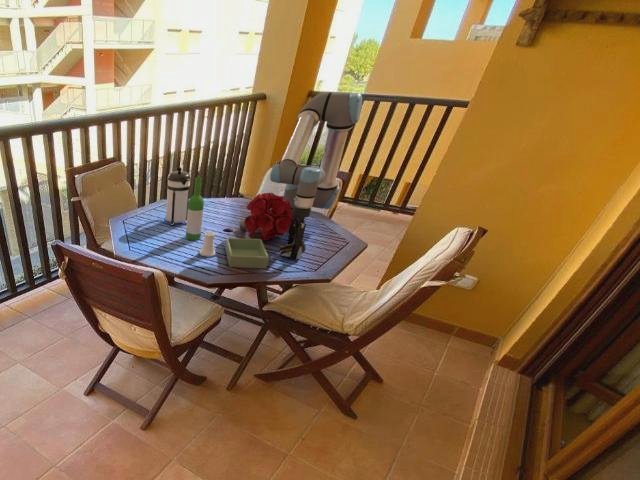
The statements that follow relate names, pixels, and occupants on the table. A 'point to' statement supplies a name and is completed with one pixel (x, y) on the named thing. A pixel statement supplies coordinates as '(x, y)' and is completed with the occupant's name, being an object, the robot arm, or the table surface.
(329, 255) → the table surface
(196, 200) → the wine bottle
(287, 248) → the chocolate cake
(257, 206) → the bouquet
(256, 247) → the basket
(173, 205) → the coffee press
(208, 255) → the salt shaker
